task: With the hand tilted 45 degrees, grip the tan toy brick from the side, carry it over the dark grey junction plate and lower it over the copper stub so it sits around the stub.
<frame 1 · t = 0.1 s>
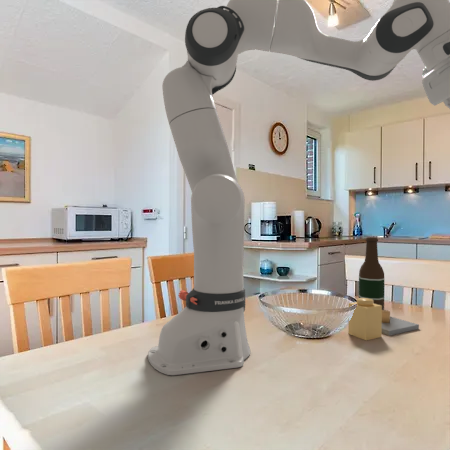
junction plate: (384, 325, 98), on the table
tan toy brick: (364, 335, 90), on the table
beer bottle: (371, 311, 114), on the table
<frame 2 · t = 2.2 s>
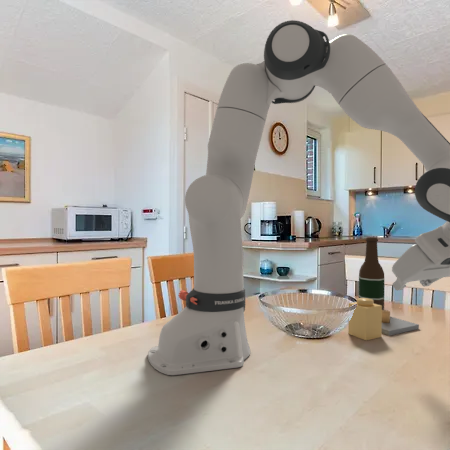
hand: (410, 285, 79), 15 cm above the table, tool tilted 45°, fingers open, 8 cm apart
nothing on the table moved.
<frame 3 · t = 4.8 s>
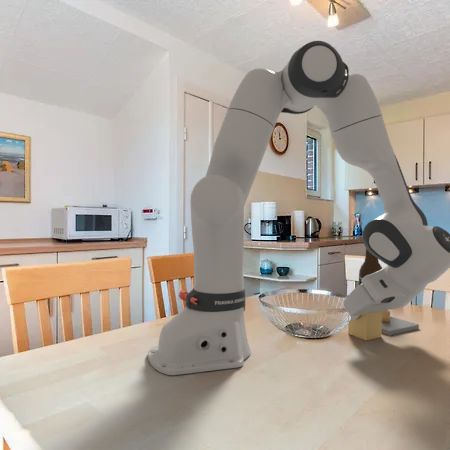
hand: (362, 315, 90), 5 cm above the table, tool tilted 45°, fingers closed on tan toy brick, 6 cm apart
tan toy brick: (364, 335, 90), on the table, touching gripper
everything else where it was.
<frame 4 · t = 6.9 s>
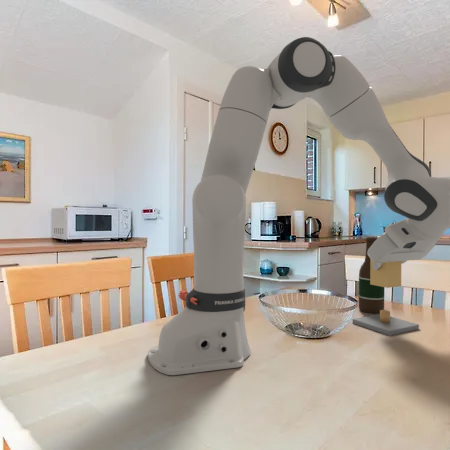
hand: (383, 267, 98), 16 cm above the table, tool tilted 45°, fingers closed on tan toy brick, 6 cm apart
tan toy brick: (385, 285, 98), point 11 cm above the table, touching gripper
everything else where it was.
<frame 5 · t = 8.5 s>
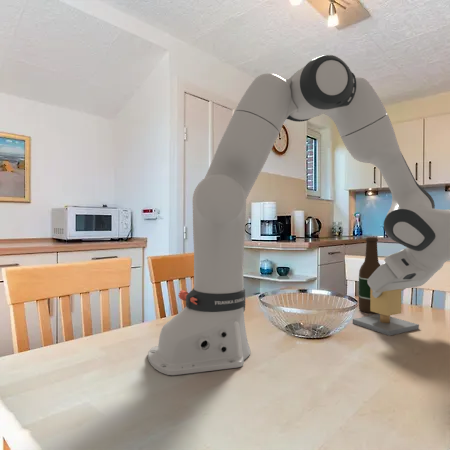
hand: (383, 294, 98), 9 cm above the table, tool tilted 45°, fingers closed on tan toy brick, 6 cm apart
tan toy brick: (385, 312, 98), point 4 cm above the table, touching gripper
everything else where it was.
when the fingers open (7 cm above the table, at t = 9.5 s): tan toy brick stays where it is, resting on junction plate.
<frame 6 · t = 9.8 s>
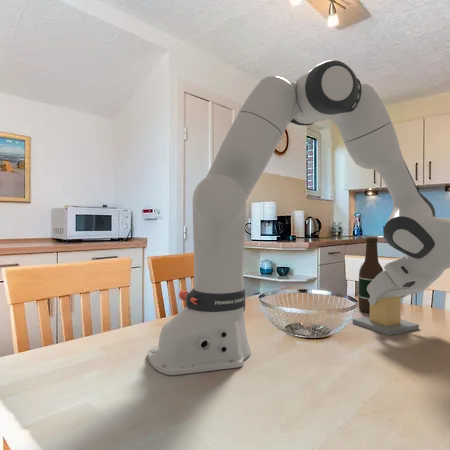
hand: (383, 301, 98), 7 cm above the table, tool tilted 45°, fingers open, 8 cm apart
tan toy brick: (384, 321, 98), point 1 cm above the table, touching junction plate
everything else where it was.
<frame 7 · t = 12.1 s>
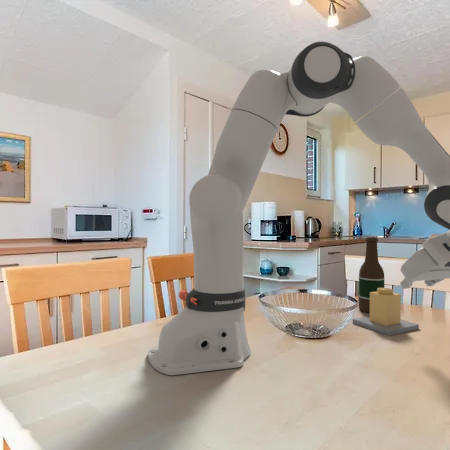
hand: (415, 285, 88), 13 cm above the table, tool tilted 45°, fingers open, 8 cm apart
nothing on the table moved.
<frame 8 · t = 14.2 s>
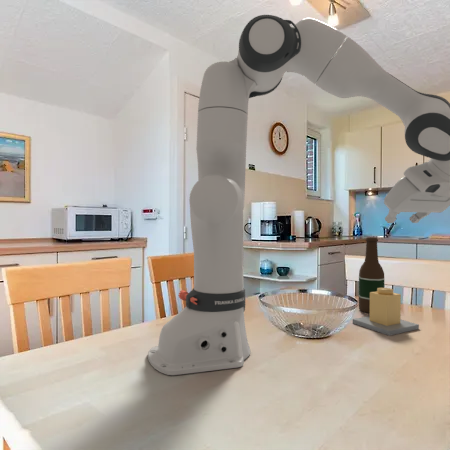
hand: (400, 221, 89), 29 cm above the table, tool tilted 45°, fingers open, 8 cm apart
nothing on the table moved.
at the end: tan toy brick 0.1 cm off-centre on the junction plate, point 1.2 cm above the junction plate's base; tan toy brick tilted 0°; the gripper is holding nothing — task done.
